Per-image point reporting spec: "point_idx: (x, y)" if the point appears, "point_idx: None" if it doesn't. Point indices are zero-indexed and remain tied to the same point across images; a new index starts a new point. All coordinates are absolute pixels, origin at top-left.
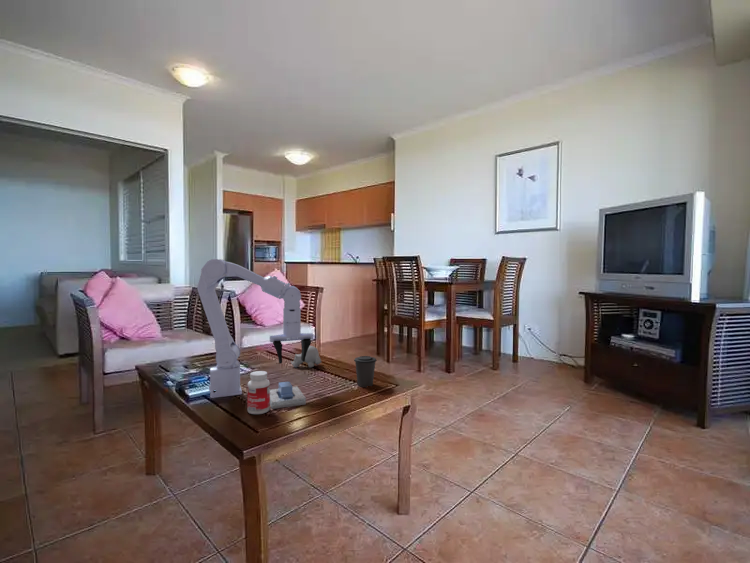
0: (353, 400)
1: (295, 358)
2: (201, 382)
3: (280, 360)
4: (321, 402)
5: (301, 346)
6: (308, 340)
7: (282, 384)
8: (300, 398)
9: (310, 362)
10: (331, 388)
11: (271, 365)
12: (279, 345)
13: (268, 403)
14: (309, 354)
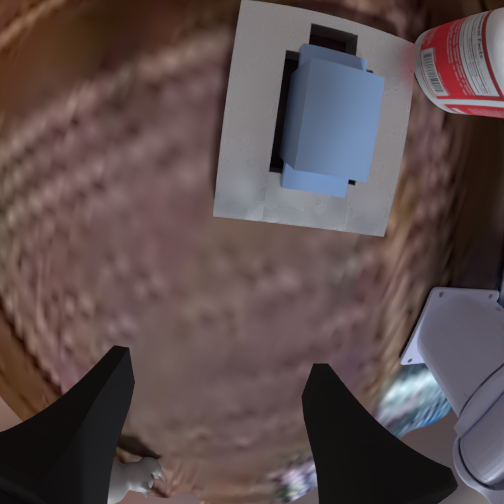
0: (37, 4)
1: (149, 481)
2: (435, 417)
3: (335, 378)
4: (158, 7)
5: (109, 483)
6: (10, 493)
7: (360, 126)
8: (272, 4)
9: None
10: (47, 189)
11: (220, 484)
12: (421, 484)
13: (436, 28)
14: None
